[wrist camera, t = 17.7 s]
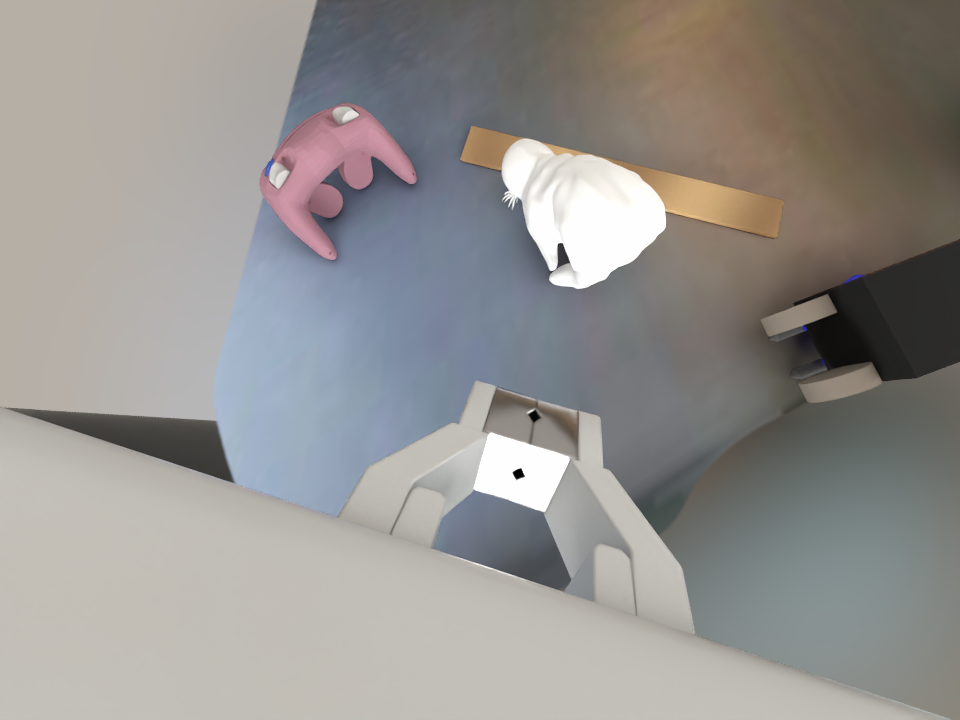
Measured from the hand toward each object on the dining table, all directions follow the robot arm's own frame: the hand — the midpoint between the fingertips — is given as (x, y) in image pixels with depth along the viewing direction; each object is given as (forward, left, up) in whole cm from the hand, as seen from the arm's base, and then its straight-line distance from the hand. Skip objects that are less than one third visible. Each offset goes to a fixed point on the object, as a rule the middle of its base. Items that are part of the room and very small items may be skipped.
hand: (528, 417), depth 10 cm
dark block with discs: (+21, +13, -18) cm, 31 cm away
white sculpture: (0, +15, -18) cm, 24 cm away
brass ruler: (+3, +20, -18) cm, 27 cm away
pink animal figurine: (-16, +13, -18) cm, 28 cm away
